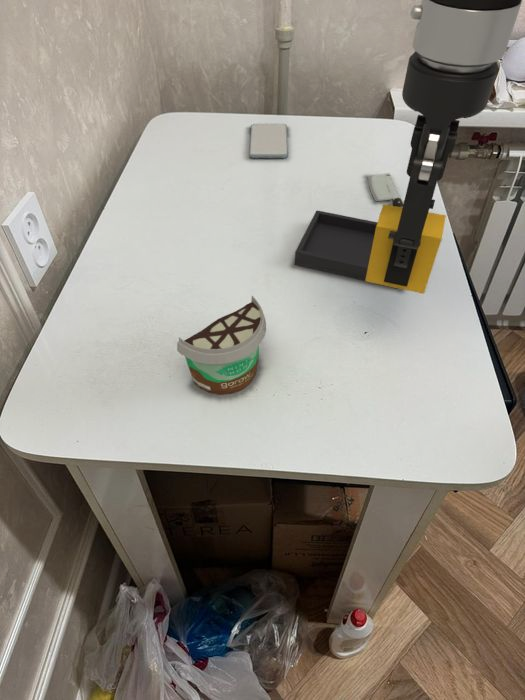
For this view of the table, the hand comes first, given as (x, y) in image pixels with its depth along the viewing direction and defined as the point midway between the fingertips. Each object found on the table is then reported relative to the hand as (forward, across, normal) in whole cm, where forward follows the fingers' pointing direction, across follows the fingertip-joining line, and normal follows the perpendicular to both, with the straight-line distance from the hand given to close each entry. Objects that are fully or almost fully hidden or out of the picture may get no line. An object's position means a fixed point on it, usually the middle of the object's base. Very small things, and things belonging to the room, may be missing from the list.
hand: (399, 268), depth 60 cm
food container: (+15, +12, -17) cm, 26 cm away
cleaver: (+15, -38, -5) cm, 42 cm away
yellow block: (+1, 0, 0) cm, 1 cm away
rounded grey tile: (+15, -53, -34) cm, 64 cm away
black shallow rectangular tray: (+15, -20, -8) cm, 26 cm away
